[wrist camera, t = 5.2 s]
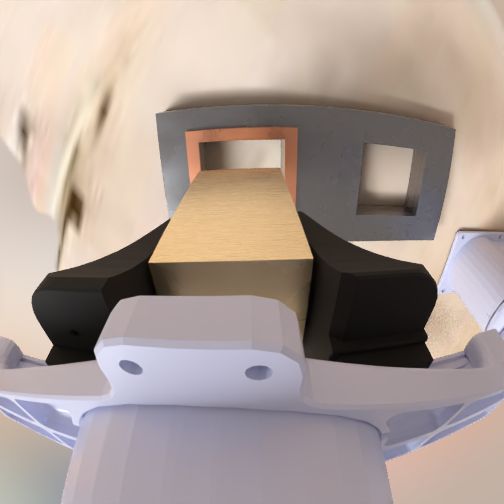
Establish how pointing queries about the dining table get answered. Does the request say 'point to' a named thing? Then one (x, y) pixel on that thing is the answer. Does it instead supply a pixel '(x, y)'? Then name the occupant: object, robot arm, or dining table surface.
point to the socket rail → (319, 161)
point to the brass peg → (236, 241)
